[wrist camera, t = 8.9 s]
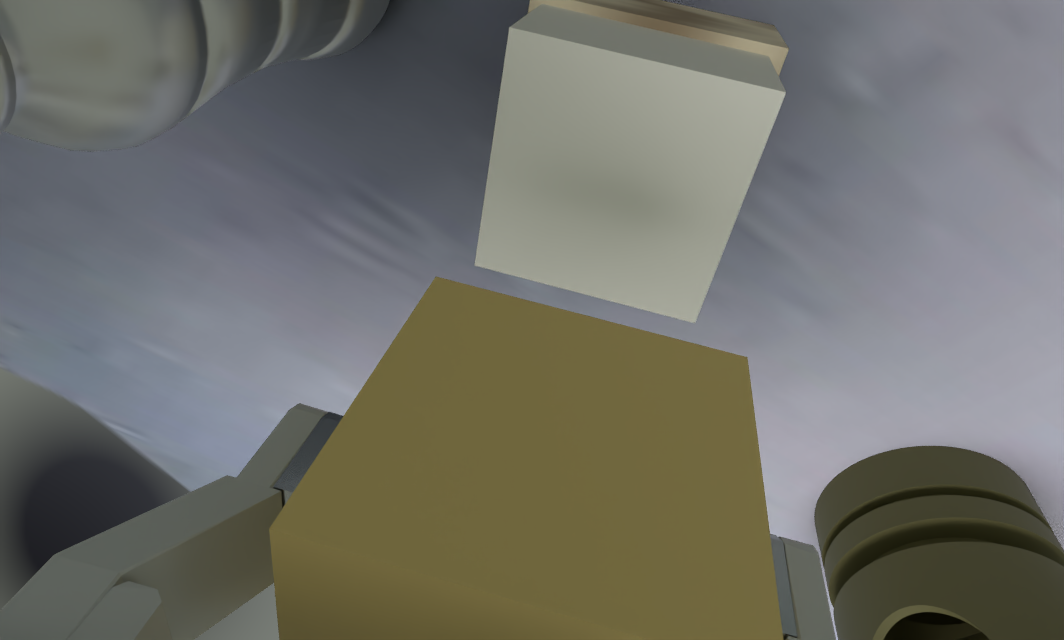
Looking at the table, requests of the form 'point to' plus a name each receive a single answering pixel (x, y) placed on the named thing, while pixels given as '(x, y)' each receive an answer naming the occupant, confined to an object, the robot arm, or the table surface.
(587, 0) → the birch tower base
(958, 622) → the piston
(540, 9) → the painted tower top
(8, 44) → the plastic bottle
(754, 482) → the mustard cube
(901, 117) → the table surface
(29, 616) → the robot arm
